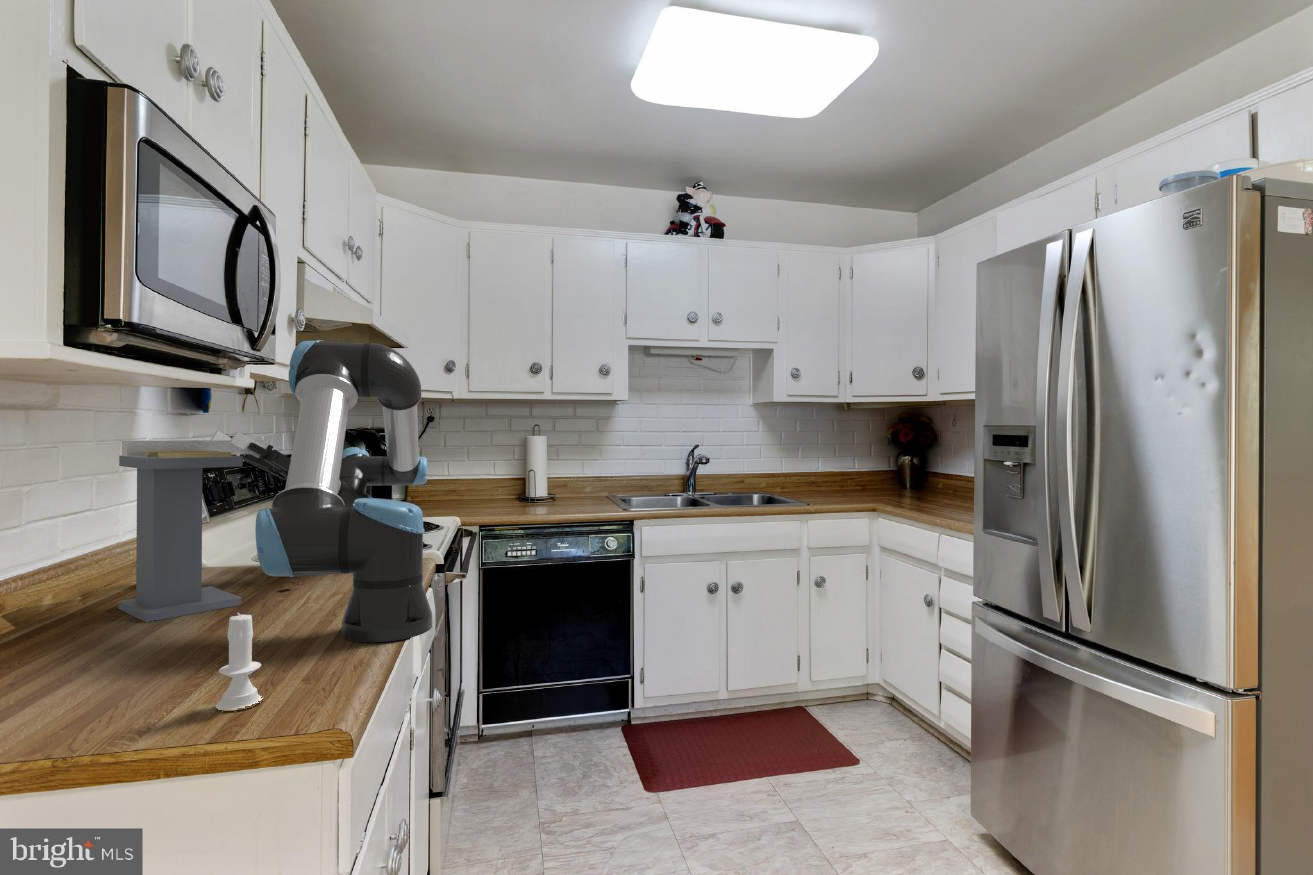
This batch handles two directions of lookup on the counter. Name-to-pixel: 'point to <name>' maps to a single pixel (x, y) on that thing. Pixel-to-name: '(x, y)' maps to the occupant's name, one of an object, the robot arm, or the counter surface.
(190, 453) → the bracket
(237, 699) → the candle
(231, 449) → the rod
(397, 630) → the robot arm
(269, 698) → the counter surface
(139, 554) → the stand
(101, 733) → the counter surface
